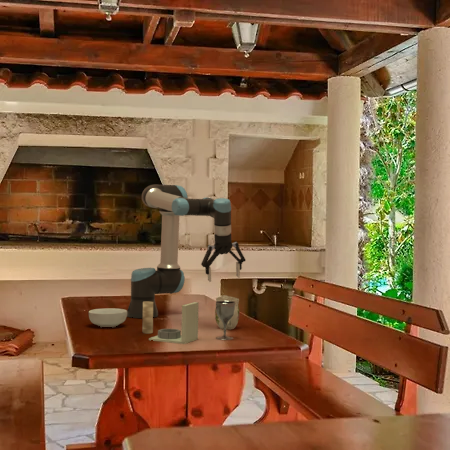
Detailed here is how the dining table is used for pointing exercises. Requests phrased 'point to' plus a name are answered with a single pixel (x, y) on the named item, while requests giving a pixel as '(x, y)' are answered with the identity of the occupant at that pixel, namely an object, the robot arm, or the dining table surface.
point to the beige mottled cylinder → (147, 317)
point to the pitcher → (235, 318)
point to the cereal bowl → (107, 317)
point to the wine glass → (225, 315)
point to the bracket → (188, 327)
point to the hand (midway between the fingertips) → (223, 278)
